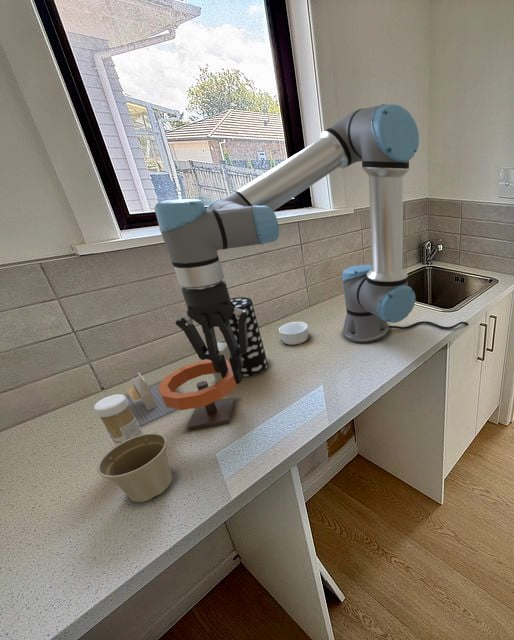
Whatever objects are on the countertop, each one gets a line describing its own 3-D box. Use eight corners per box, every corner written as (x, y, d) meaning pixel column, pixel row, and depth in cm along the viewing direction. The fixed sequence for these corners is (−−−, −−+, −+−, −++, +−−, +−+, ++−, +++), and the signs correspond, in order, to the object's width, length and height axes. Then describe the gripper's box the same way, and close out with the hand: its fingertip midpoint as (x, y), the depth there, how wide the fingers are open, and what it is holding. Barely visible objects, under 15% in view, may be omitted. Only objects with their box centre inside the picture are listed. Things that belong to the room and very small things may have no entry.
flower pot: (109, 520, 55) (85, 485, 52) (128, 475, 63) (109, 442, 59) (176, 499, 59) (159, 465, 55) (186, 459, 66) (172, 426, 63)
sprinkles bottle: (117, 458, 67) (87, 405, 61) (142, 441, 71) (115, 390, 65) (131, 465, 65) (102, 412, 59) (156, 448, 69) (130, 396, 63)
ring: (243, 365, 82) (240, 355, 81) (231, 401, 70) (227, 390, 69) (177, 375, 79) (173, 364, 77) (152, 415, 66) (146, 403, 65)
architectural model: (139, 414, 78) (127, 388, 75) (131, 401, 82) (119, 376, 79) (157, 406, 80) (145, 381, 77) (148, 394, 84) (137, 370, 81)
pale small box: (242, 373, 92) (233, 342, 88) (233, 383, 89) (222, 351, 84) (225, 372, 93) (214, 341, 88) (214, 382, 89) (203, 350, 84)
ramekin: (309, 331, 115) (307, 319, 113) (310, 343, 107) (307, 331, 105) (281, 335, 112) (279, 323, 110) (280, 347, 105) (277, 335, 103)
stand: (235, 400, 82) (225, 370, 78) (228, 422, 76) (217, 391, 72) (198, 407, 80) (186, 376, 76) (188, 430, 73) (174, 398, 69)
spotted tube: (261, 375, 92) (243, 309, 83) (230, 376, 91) (209, 310, 82) (272, 359, 99) (257, 296, 90) (243, 360, 99) (225, 297, 90)
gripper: (247, 274, 71) (270, 366, 81) (166, 280, 67) (201, 377, 77) (240, 285, 64) (266, 385, 75) (151, 294, 60) (191, 397, 71)
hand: (233, 381), depth 76 cm, fingers closed on ring, 2 cm apart
